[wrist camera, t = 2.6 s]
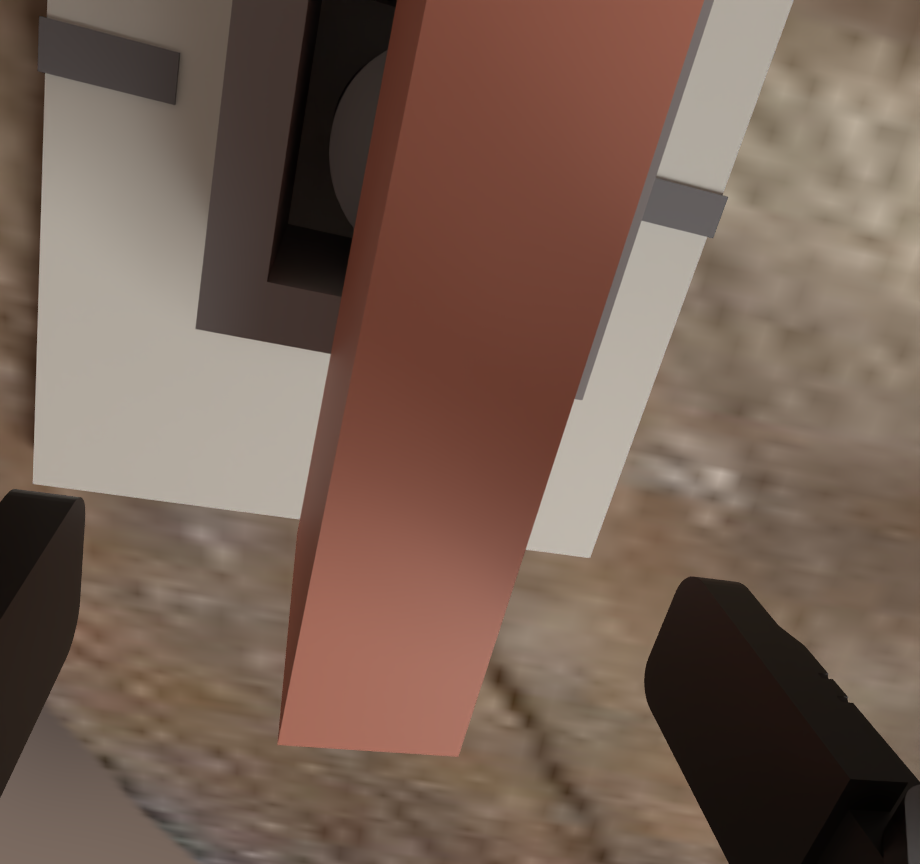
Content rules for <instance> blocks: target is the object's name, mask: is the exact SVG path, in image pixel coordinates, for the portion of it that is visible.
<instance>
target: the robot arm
mask: <svg viewBox="0 0 920 864" xmlns="http://www.w3.org/2000/svg"><path fill="white" fill-rule="evenodd" d="M84 527H85V504H84V500H83V499H82V498H81V497H73V496H66V495H58V494H50V493H42V492H34V491H26V490H18V489H13V490H11V491H9V493H8V494H7V495H6V496H5V497H4V498H3V500H2V501H1V502H0V797H1V795H2V793H3V791H4V789H5V787H6V784H7V782H8V780H9V778H10V776H11V774H12V772H13V770H14V767H15V765H16V763H17V761H18V759H19V757H20V754H21V753H22V751H23V748H24V746H25V744H26V742H27V740H28V738H29V736H30V734H31V731H32V729H33V727H34V725H35V723H36V721H37V719H38V717H39V715H40V713H41V710H42V708H43V706H44V704H45V702H46V700H47V698H48V696H49V694H50V691H51V689H52V687H53V685H54V683H55V681H56V679H57V677H58V675H59V672H60V670H61V668H62V666H63V664H64V662H65V660H66V657H67V655H68V652H69V650H70V647H71V644H72V641H73V637H74V633H75V629H76V625H77V620H78V614H79V607H80V592H81V576H82V560H83V543H84ZM644 685H645V694H646V699H647V702H648V705H649V707H650V710H651V712H652V714H653V715H654V717H655V719H656V721H657V723H658V725H659V727H660V729H661V731H662V733H663V735H664V737H665V739H666V741H667V743H668V745H669V747H670V749H671V751H672V753H673V755H674V757H675V759H676V761H677V763H678V764H679V766H680V768H681V770H682V772H683V774H684V776H685V778H686V780H687V782H688V784H689V786H690V788H691V790H692V792H693V794H694V796H695V798H696V800H697V802H698V804H699V806H700V808H701V810H702V812H703V814H704V815H705V817H706V819H707V821H708V823H709V825H710V827H711V829H712V831H713V833H714V835H715V837H716V839H717V841H718V843H719V845H720V847H721V849H722V851H723V853H724V855H725V857H726V859H727V861H728V863H729V864H920V782H919V780H918V779H917V778H916V777H915V776H914V774H913V773H912V772H911V771H910V770H909V769H908V767H907V766H906V765H905V764H904V763H903V761H902V760H901V759H900V758H899V757H898V756H897V754H896V753H895V752H894V751H893V750H892V748H891V747H890V746H889V745H888V744H887V743H886V741H885V740H884V739H883V738H882V737H881V735H880V734H879V733H878V732H877V731H876V730H875V728H874V727H873V726H872V725H871V724H870V722H869V721H868V720H867V719H866V718H865V717H864V715H863V714H862V713H861V712H860V711H859V709H858V708H857V707H856V706H855V705H854V704H853V703H848V700H847V698H848V696H847V695H846V694H845V693H844V692H843V691H842V689H841V688H840V687H839V686H838V685H837V683H836V682H835V681H834V680H833V679H828V673H827V672H826V670H825V669H824V668H823V667H822V666H821V665H820V663H819V662H818V661H817V660H816V659H815V657H814V656H813V655H812V654H811V653H810V652H809V650H808V649H807V648H806V647H805V646H804V645H803V644H802V643H800V642H799V641H798V640H796V639H795V638H794V637H792V636H791V635H790V634H789V633H787V632H786V631H785V630H783V629H782V628H781V627H780V626H778V624H777V623H776V622H775V621H774V620H773V618H772V617H771V616H770V615H769V614H768V612H767V611H766V610H765V609H764V608H763V606H762V605H761V604H760V603H759V602H758V600H757V599H756V598H755V597H754V595H753V594H752V593H751V592H750V591H749V589H748V588H747V587H746V586H745V585H743V584H741V583H739V582H732V581H724V580H717V579H709V578H701V577H688V578H686V579H685V580H683V581H682V582H681V584H680V585H679V587H678V588H677V590H676V593H675V595H674V598H673V600H672V602H671V605H670V607H669V610H668V612H667V615H666V617H665V619H664V622H663V624H662V627H661V629H660V631H659V634H658V636H657V639H656V641H655V644H654V646H653V648H652V651H651V653H650V656H649V658H648V661H647V664H646V669H645V678H644Z"/></svg>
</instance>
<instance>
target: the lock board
mask: <svg viewBox="0 0 920 864" xmlns="http://www.w3.org/2000/svg"><path fill="white" fill-rule="evenodd" d="M792 3H793V0H714V2H713V5H712V8H711V11H710V14H709V18H708V21H707V24H706V27H705V30H704V33H703V36H702V39H701V42H700V45H699V48H698V51H697V54H696V57H695V60H694V63H693V66H692V69H691V72H690V75H689V78H688V81H687V84H686V87H685V90H684V93H683V96H682V99H681V102H680V106H679V109H678V112H677V115H676V118H675V121H674V124H673V127H672V130H671V133H670V136H669V139H668V142H667V145H666V148H665V151H664V154H663V157H662V160H661V163H660V166H659V169H658V172H657V175H656V178H655V181H654V184H653V187H652V190H651V194H650V197H649V200H648V203H647V206H646V209H645V212H644V215H643V218H642V221H641V224H640V227H639V230H638V233H637V236H636V239H635V242H634V245H633V248H632V251H631V254H630V257H629V260H628V263H627V266H626V269H625V272H624V275H623V278H622V282H621V285H620V288H619V291H618V294H617V297H616V300H615V303H614V306H613V309H612V312H611V315H610V318H609V321H608V324H607V327H606V330H605V333H604V336H603V339H602V342H601V345H600V348H599V351H598V354H597V357H596V360H595V363H594V366H593V370H592V373H591V376H590V379H589V382H588V385H587V388H586V391H585V394H584V397H583V400H577V399H574V402H573V405H572V408H571V412H570V415H569V418H568V421H567V424H566V427H565V430H564V433H563V436H562V439H561V442H560V445H559V448H558V452H557V455H556V458H555V461H554V464H553V467H552V470H551V473H550V476H549V479H548V482H547V485H546V488H545V492H544V495H543V498H542V501H541V504H540V507H539V510H538V513H537V516H536V519H535V522H534V525H533V528H532V531H531V535H530V538H529V541H528V544H527V547H526V550H534V551H541V552H549V553H556V554H564V555H571V556H579V557H586V558H590V556H591V553H592V551H593V548H594V545H595V543H596V540H597V537H598V534H599V532H600V529H601V526H602V523H603V521H604V518H605V515H606V512H607V510H608V507H609V504H610V501H611V499H612V496H613V493H614V490H615V488H616V485H617V482H618V480H619V477H620V474H621V471H622V469H623V466H624V463H625V460H626V458H627V455H628V452H629V449H630V447H631V444H632V441H633V438H634V436H635V433H636V430H637V428H638V425H639V422H640V419H641V417H642V414H643V411H644V408H645V406H646V403H647V400H648V397H649V395H650V392H651V389H652V386H653V384H654V381H655V378H656V375H657V373H658V370H659V367H660V365H661V362H662V359H663V356H664V354H665V351H666V348H667V345H668V343H669V340H670V337H671V334H672V332H673V329H674V326H675V323H676V321H677V318H678V315H679V313H680V310H681V307H682V304H683V302H684V299H685V296H686V293H687V291H688V288H689V285H690V282H691V280H692V277H693V274H694V271H695V269H696V266H697V263H698V260H699V258H700V255H701V252H702V250H703V247H704V244H705V241H706V239H707V237H709V238H713V237H714V234H715V232H716V229H717V226H718V223H719V221H720V218H721V215H722V213H723V210H724V207H725V204H726V202H727V199H728V197H726V196H723V192H724V189H725V187H726V184H727V181H728V178H729V176H730V173H731V170H732V167H733V165H734V162H735V159H736V156H737V154H738V151H739V148H740V145H741V143H742V140H743V137H744V135H745V132H746V129H747V126H748V124H749V121H750V118H751V115H752V113H753V110H754V107H755V104H756V102H757V99H758V96H759V93H760V91H761V88H762V85H763V82H764V80H765V77H766V74H767V72H768V69H769V66H770V63H771V61H772V58H773V55H774V52H775V50H776V47H777V44H778V41H779V39H780V36H781V33H782V30H783V28H784V25H785V22H786V20H787V17H788V14H789V11H790V9H791V6H792ZM395 8H396V7H393V6H390V5H387V4H383V3H380V2H377V1H373V0H322V5H321V11H320V18H319V24H318V31H317V37H316V44H315V50H314V57H313V63H312V70H311V76H310V83H309V89H308V96H307V102H306V109H305V115H304V122H303V128H302V135H301V141H300V148H299V155H298V161H297V168H296V174H295V181H294V187H293V194H292V200H291V207H290V213H289V220H288V224H291V225H295V226H300V227H304V228H309V229H314V230H318V231H323V232H327V233H332V234H336V235H341V236H345V237H350V238H353V233H354V227H355V222H356V217H357V211H358V206H359V201H360V195H361V190H362V184H363V179H364V174H365V168H366V163H367V158H368V152H369V147H370V142H371V136H372V131H373V126H374V120H375V115H376V110H377V104H378V99H379V94H380V88H381V83H382V78H383V72H384V67H385V62H386V56H387V51H388V45H389V40H390V35H391V29H392V24H393V19H394V13H395ZM231 9H232V0H47V18H46V17H42V16H39V39H38V71H39V72H43V73H45V96H44V130H43V163H42V197H41V230H40V263H39V297H38V330H37V363H36V397H35V430H34V463H33V484H38V485H46V486H53V487H61V488H68V489H76V490H83V491H91V492H98V493H106V494H113V495H121V496H128V497H136V498H143V499H151V500H158V501H166V502H173V503H181V504H188V505H196V506H203V507H211V508H218V509H226V510H233V511H241V512H248V513H256V514H263V515H271V516H278V517H286V518H293V519H300V516H301V511H302V505H303V500H304V495H305V489H306V484H307V479H308V473H309V468H310V463H311V457H312V452H313V446H314V441H315V436H316V430H317V425H318V420H319V414H320V409H321V404H322V398H323V393H324V388H325V382H326V377H327V372H328V366H329V361H330V356H331V354H328V353H322V352H317V351H311V350H306V349H301V348H295V347H290V346H284V345H279V344H273V343H268V342H263V341H257V340H252V339H246V338H241V337H235V336H230V335H225V334H219V333H214V332H208V331H203V330H197V329H195V327H196V319H197V310H198V301H199V292H200V283H201V274H202V266H203V257H204V248H205V239H206V230H207V221H208V213H209V204H210V195H211V186H212V177H213V168H214V160H215V151H216V142H217V133H218V124H219V115H220V106H221V98H222V89H223V80H224V71H225V62H226V53H227V45H228V36H229V27H230V18H231Z"/></svg>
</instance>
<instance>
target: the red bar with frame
mask: <svg viewBox="0 0 920 864" xmlns="http://www.w3.org/2000/svg"><path fill="white" fill-rule="evenodd" d="M373 1H377V2H380V3H383V4H387V5H390V6H393V7H396V8H395V13H394V19H393V24H392V29H391V35H390V40H389V45H388V51H387V56H386V62H385V67H384V72H383V78H382V83H381V88H380V94H379V99H378V104H377V110H376V115H375V120H374V126H373V131H372V136H371V142H370V147H369V152H368V158H367V163H366V168H365V174H364V179H363V184H362V190H361V195H360V201H359V206H358V211H357V217H356V222H355V227H354V233H353V238H350V237H345V236H341V235H336V234H332V233H327V232H323V231H318V230H314V229H309V228H304V227H300V226H295V225H291V224H288V220H289V213H290V207H291V200H292V194H293V187H294V181H295V174H296V168H297V161H298V155H299V148H300V141H301V135H302V128H303V122H304V115H305V109H306V102H307V96H308V89H309V83H310V76H311V70H312V63H313V57H314V50H315V44H316V37H317V31H318V24H319V18H320V11H321V5H322V0H232V9H231V18H230V27H229V36H228V45H227V53H226V62H225V71H224V80H223V89H222V98H221V106H220V115H219V124H218V133H217V142H216V151H215V160H214V168H213V177H212V186H211V195H210V204H209V213H208V221H207V230H206V239H205V248H204V257H203V266H202V274H201V283H200V292H199V301H198V310H197V319H196V327H195V329H197V330H203V331H208V332H214V333H219V334H225V335H230V336H235V337H241V338H246V339H252V340H257V341H263V342H268V343H273V344H279V345H284V346H290V347H295V348H301V349H306V350H311V351H317V352H322V353H328V354H331V356H330V361H329V366H328V372H327V377H326V382H325V388H324V393H323V398H322V404H321V409H320V414H319V420H318V425H317V430H316V436H315V441H314V446H313V452H312V457H311V463H310V468H309V473H308V479H307V484H306V489H305V495H304V500H303V505H302V511H301V516H300V521H299V527H298V532H297V541H296V552H295V562H294V573H293V584H292V594H291V605H290V616H289V627H288V637H287V648H286V659H285V669H284V680H283V691H282V702H281V712H280V723H279V734H278V744H277V745H288V746H304V747H319V748H334V749H349V750H365V751H380V752H395V753H411V754H426V755H441V756H456V757H458V756H459V753H460V750H461V747H462V744H463V741H464V738H465V735H466V731H467V728H468V725H469V722H470V719H471V716H472V713H473V710H474V707H475V704H476V701H477V698H478V695H479V691H480V688H481V685H482V682H483V679H484V676H485V673H486V670H487V667H488V664H489V661H490V658H491V655H492V651H493V648H494V645H495V642H496V639H497V636H498V633H499V630H500V627H501V624H502V621H503V618H504V615H505V611H506V608H507V605H508V602H509V599H510V596H511V593H512V590H513V587H514V584H515V581H516V578H517V575H518V571H519V568H520V565H521V562H522V559H523V556H524V553H525V550H526V547H527V544H528V541H529V538H530V535H531V531H532V528H533V525H534V522H535V519H536V516H537V513H538V510H539V507H540V504H541V501H542V498H543V495H544V492H545V488H546V485H547V482H548V479H549V476H550V473H551V470H552V467H553V464H554V461H555V458H556V455H557V452H558V448H559V445H560V442H561V439H562V436H563V433H564V430H565V427H566V424H567V421H568V418H569V415H570V412H571V408H572V405H573V402H574V399H577V400H583V397H584V394H585V391H586V388H587V385H588V382H589V379H590V376H591V373H592V370H593V366H594V363H595V360H596V357H597V354H598V351H599V348H600V345H601V342H602V339H603V336H604V333H605V330H606V327H607V324H608V321H609V318H610V315H611V312H612V309H613V306H614V303H615V300H616V297H617V294H618V291H619V288H620V285H621V282H622V278H623V275H624V272H625V269H626V266H627V263H628V260H629V257H630V254H631V251H632V248H633V245H634V242H635V239H636V236H637V233H638V230H639V227H640V224H641V221H642V218H643V215H644V212H645V209H646V206H647V203H648V200H649V197H650V194H651V190H652V187H653V184H654V181H655V178H656V175H657V172H658V169H659V166H660V163H661V160H662V157H663V154H664V151H665V148H666V145H667V142H668V139H669V136H670V133H671V130H672V127H673V124H674V121H675V118H676V115H677V112H678V109H679V106H680V102H681V99H682V96H683V93H684V90H685V87H686V84H687V81H688V78H689V75H690V72H691V69H692V66H693V63H694V60H695V57H696V54H697V51H698V48H699V45H700V42H701V39H702V36H703V33H704V30H705V27H706V24H707V21H708V18H709V14H710V11H711V8H712V5H713V2H714V0H373Z"/></svg>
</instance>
